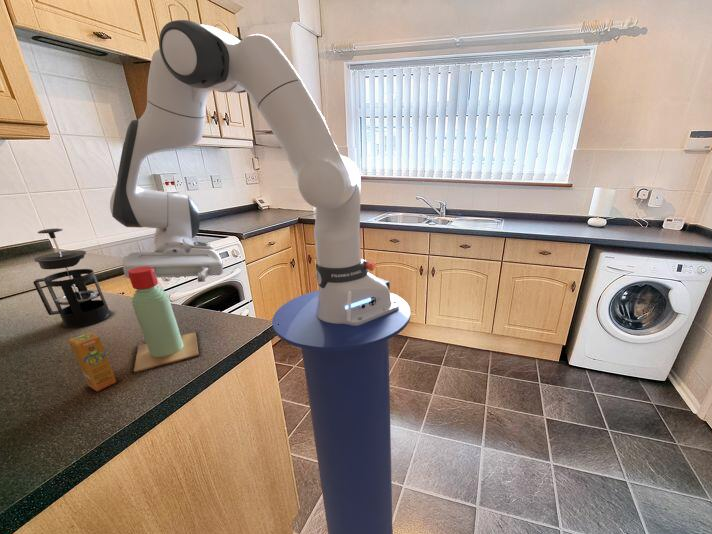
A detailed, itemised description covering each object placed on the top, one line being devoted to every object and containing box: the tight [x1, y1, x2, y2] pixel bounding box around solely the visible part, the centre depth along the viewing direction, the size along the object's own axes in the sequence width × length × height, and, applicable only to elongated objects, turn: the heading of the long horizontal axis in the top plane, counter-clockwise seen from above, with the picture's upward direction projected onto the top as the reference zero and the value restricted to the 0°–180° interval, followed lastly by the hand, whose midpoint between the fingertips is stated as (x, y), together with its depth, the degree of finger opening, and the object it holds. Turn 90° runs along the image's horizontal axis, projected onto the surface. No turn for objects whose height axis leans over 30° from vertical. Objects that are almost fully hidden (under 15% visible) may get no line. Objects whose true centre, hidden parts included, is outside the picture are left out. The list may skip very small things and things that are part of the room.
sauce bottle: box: [131, 285, 183, 357], centre depth 68 cm, size 6×6×18 cm
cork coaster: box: [133, 331, 200, 373], centre depth 72 cm, size 11×11×1 cm
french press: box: [32, 227, 112, 329], centre depth 81 cm, size 12×9×23 cm
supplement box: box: [67, 331, 117, 392], centre depth 60 cm, size 3×3×10 cm
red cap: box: [128, 266, 159, 290], centre depth 65 cm, size 4×4×3 cm
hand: (177, 280), depth 78 cm, fingers open, 8 cm apart
